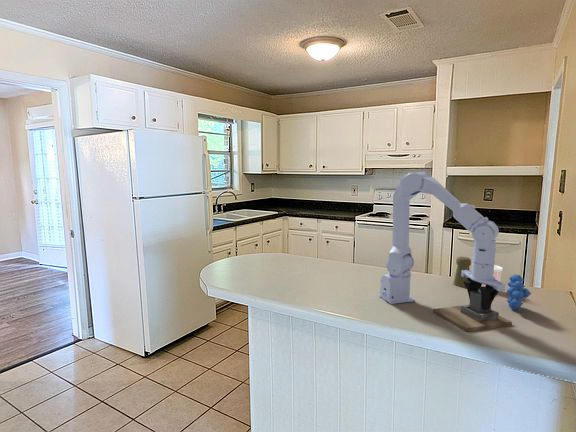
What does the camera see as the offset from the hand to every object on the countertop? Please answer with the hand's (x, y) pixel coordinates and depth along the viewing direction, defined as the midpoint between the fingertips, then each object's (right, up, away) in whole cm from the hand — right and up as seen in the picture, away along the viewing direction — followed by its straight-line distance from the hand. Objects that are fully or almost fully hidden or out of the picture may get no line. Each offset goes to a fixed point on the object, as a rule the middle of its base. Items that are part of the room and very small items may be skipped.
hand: (479, 306), depth 107 cm
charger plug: (0, -2, 0) cm, 2 cm away
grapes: (+16, -3, +7) cm, 18 cm away
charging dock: (-2, -4, +1) cm, 4 cm away
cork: (+10, 0, +31) cm, 33 cm away
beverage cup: (+18, -1, +25) cm, 31 cm away
